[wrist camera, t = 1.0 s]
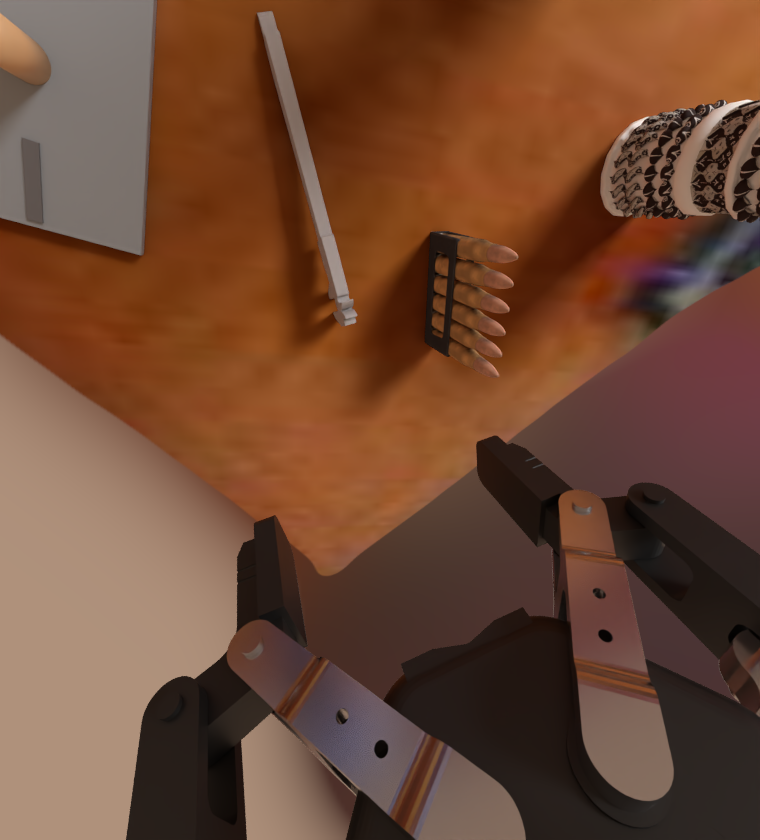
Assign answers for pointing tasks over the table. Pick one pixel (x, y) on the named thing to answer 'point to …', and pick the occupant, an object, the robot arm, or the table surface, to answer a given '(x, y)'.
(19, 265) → the table surface
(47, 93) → the post board
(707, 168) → the decorative candle
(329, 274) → the caliper
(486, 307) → the ammunition clip
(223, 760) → the robot arm
